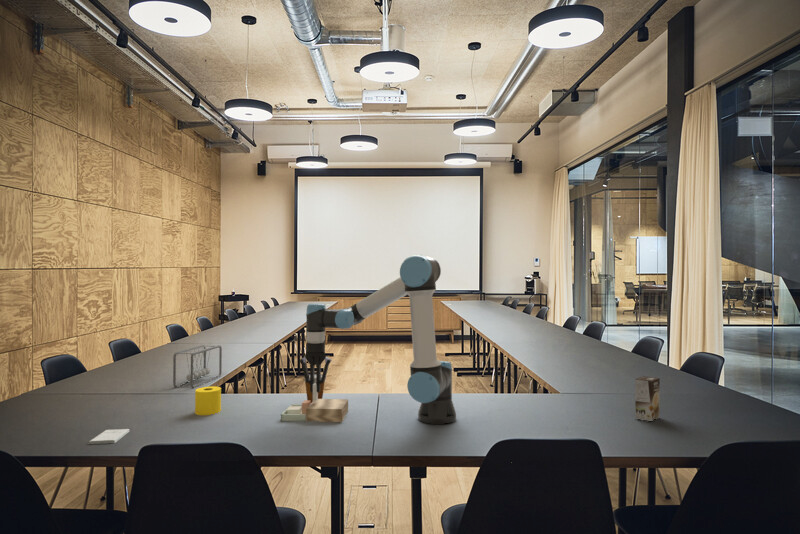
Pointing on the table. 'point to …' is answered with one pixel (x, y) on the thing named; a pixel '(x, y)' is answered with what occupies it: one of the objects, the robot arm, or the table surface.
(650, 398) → the coffee box
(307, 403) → the terracotta tile
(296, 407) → the cream tile
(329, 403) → the tan wooden flat block
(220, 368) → the newton's cradle
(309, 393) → the disposable coffee cup
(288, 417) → the tray
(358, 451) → the table surface
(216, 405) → the yellow toilet paper roll
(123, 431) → the external hard drive
